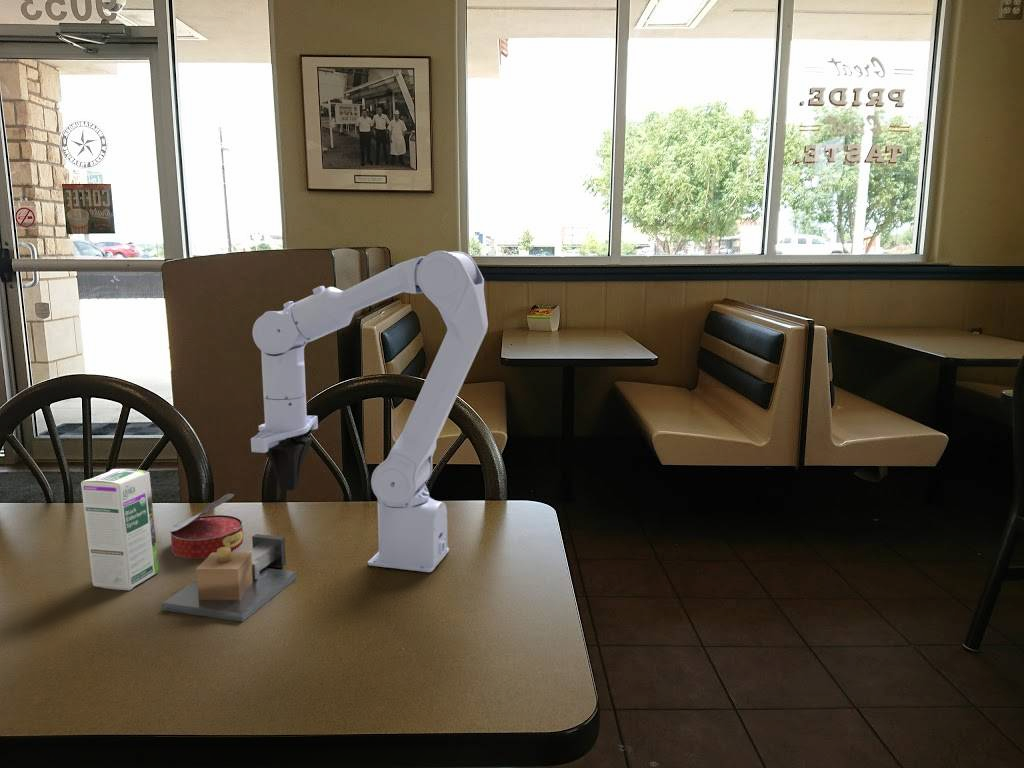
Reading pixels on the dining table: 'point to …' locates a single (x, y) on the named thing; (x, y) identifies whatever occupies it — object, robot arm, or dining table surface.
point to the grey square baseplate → (231, 609)
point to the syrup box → (120, 528)
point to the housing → (224, 575)
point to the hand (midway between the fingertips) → (289, 488)
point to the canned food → (206, 533)
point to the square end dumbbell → (267, 552)
